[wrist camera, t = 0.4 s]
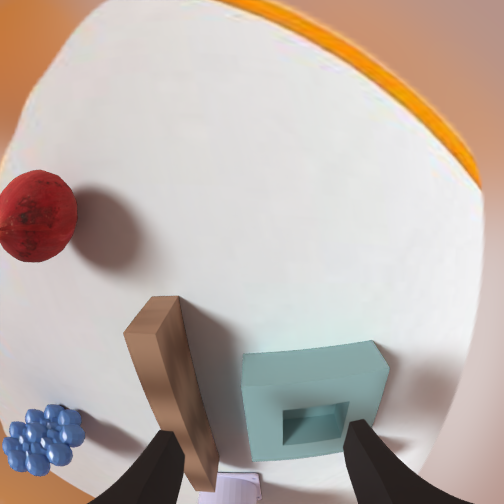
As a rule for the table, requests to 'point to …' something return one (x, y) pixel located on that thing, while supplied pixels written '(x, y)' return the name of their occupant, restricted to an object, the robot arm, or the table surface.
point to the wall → (173, 385)
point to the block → (309, 398)
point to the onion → (36, 216)
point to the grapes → (43, 439)
